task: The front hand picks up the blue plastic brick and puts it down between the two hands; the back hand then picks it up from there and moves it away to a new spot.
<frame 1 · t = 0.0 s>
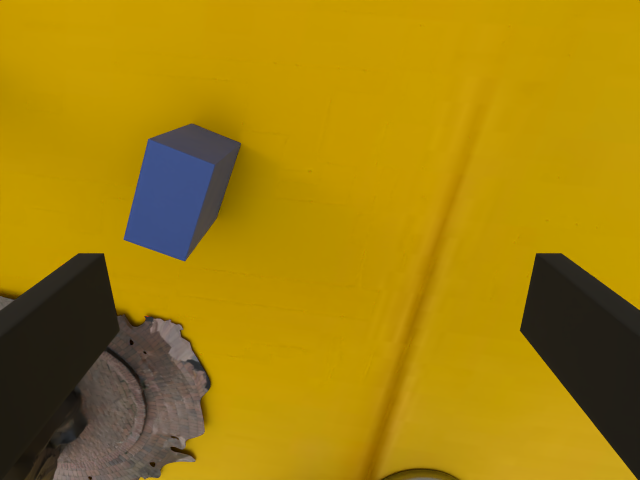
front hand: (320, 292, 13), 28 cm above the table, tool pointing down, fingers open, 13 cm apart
hat: (67, 397, 50), on the table
brick: (204, 173, 40), on the table
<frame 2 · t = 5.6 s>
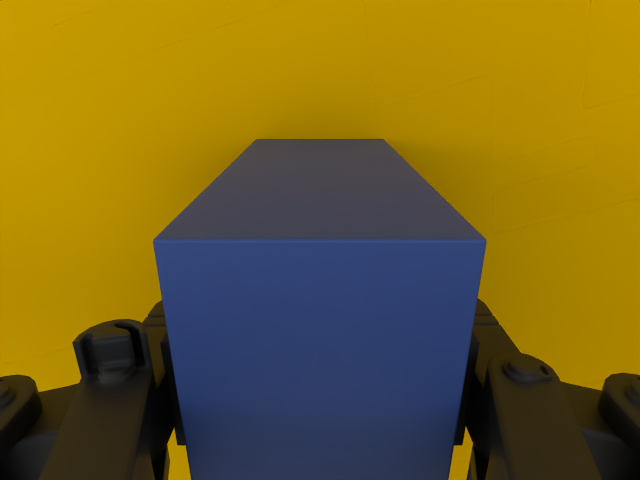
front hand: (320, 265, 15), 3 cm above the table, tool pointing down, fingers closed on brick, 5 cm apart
brick: (319, 239, 17), on the table, touching front hand
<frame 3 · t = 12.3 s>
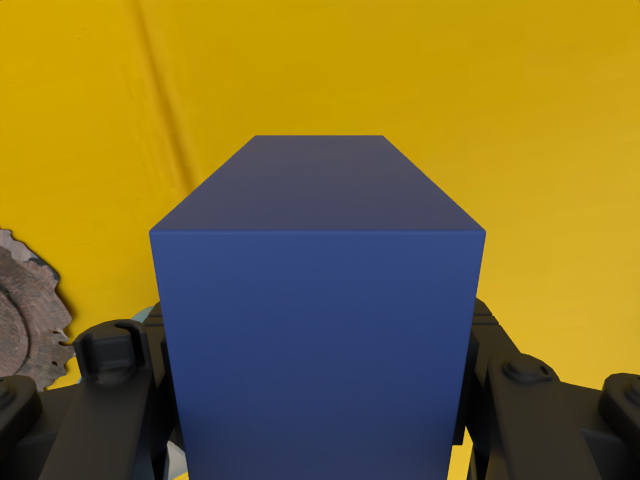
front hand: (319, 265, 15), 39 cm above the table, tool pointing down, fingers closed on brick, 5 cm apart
brick: (319, 236, 17), point 36 cm above the table, touching front hand
when the front hand's fingers open (4 cm above the table, at t = 19.2 s): brick drops 1 cm, on the table.
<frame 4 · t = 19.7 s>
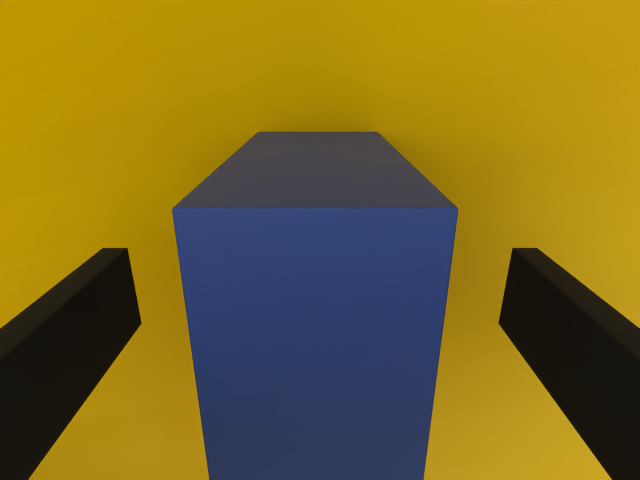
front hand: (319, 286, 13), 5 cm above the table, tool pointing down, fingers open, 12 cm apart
brick: (317, 227, 18), on the table
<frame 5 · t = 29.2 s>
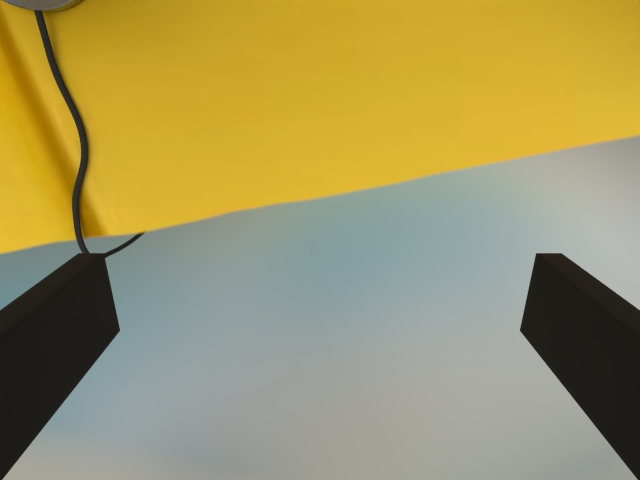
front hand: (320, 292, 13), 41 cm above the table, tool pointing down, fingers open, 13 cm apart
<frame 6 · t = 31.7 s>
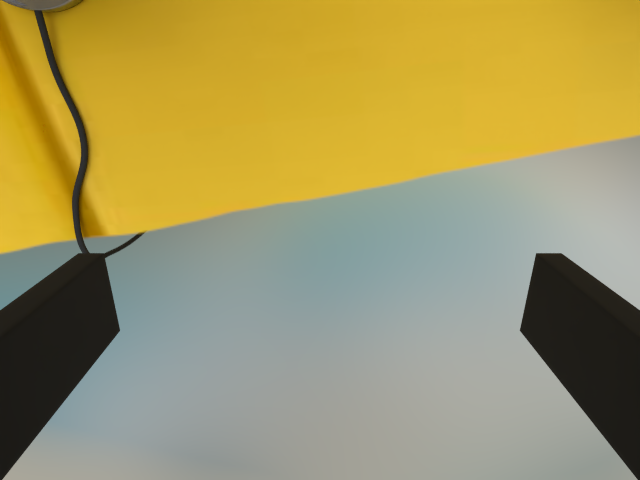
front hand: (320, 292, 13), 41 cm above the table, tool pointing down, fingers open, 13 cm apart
when the back hand's fingers open (4 cm above the table, at t = 34.4 s): brick drops 1 cm, on the table.
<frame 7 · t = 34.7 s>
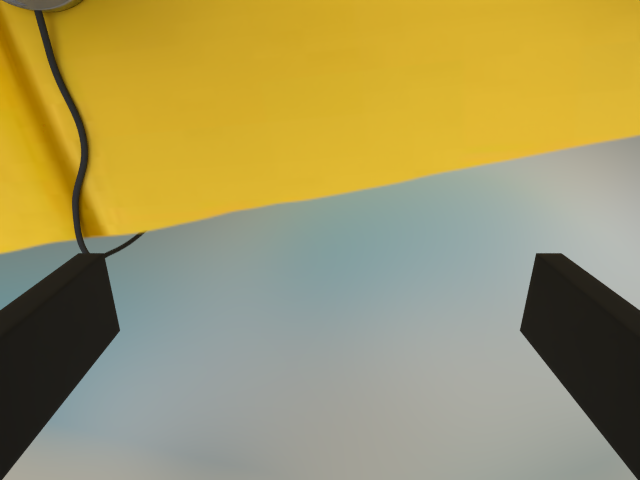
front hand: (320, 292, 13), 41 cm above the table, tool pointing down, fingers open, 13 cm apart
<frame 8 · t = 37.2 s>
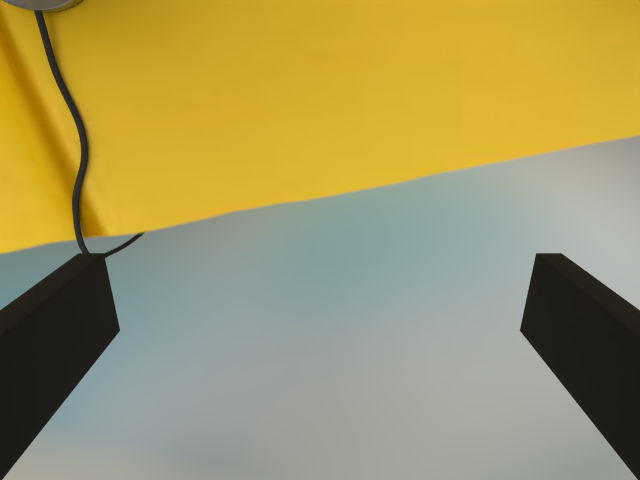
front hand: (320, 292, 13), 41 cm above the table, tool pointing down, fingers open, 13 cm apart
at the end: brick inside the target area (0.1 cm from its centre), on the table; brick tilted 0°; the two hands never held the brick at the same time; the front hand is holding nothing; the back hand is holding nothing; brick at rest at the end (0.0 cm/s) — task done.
